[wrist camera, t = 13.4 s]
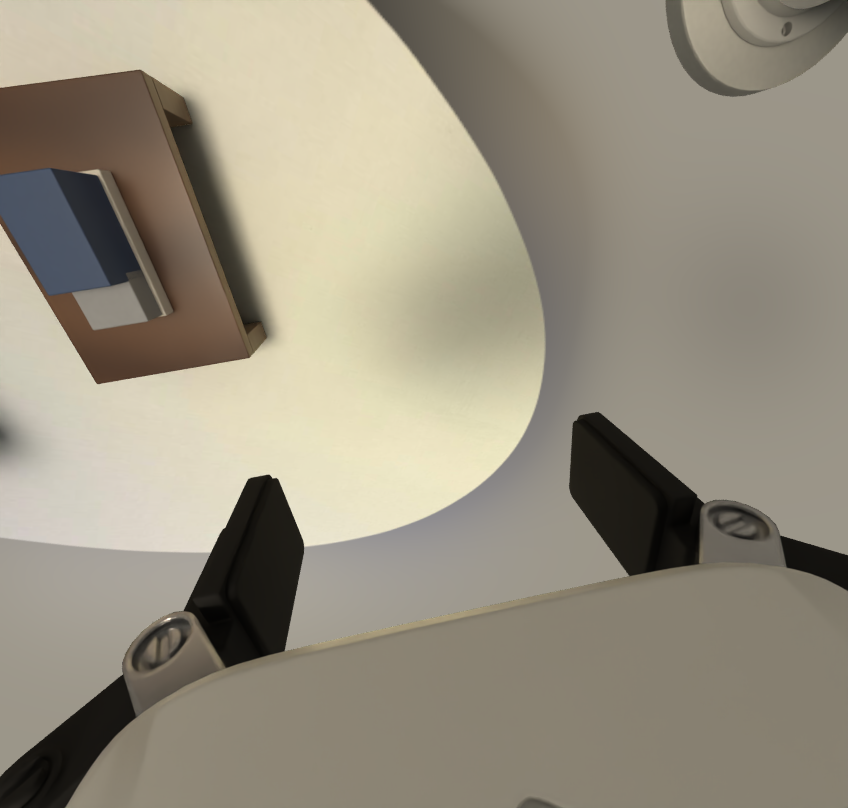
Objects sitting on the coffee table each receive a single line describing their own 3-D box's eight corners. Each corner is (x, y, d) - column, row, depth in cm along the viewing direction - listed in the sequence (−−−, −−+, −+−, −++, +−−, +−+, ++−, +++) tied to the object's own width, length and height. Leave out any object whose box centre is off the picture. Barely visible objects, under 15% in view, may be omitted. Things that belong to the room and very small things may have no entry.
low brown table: (8, 120, 26) (-77, 97, 21) (183, 96, 26) (140, 69, 22) (136, 360, 34) (96, 384, 29) (267, 338, 35) (249, 358, 30)
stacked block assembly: (45, 180, 23) (-32, 171, 19) (110, 170, 23) (50, 160, 19) (119, 321, 27) (70, 341, 23) (174, 311, 28) (137, 329, 23)
